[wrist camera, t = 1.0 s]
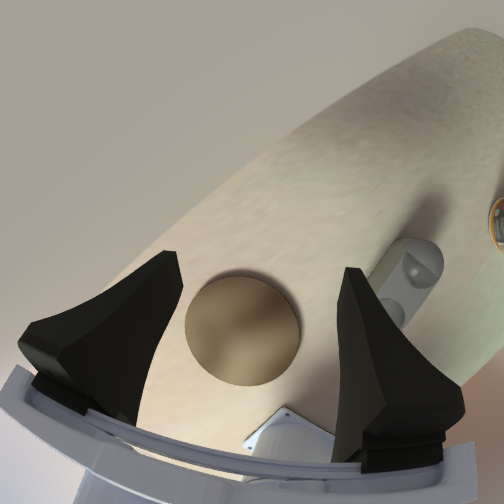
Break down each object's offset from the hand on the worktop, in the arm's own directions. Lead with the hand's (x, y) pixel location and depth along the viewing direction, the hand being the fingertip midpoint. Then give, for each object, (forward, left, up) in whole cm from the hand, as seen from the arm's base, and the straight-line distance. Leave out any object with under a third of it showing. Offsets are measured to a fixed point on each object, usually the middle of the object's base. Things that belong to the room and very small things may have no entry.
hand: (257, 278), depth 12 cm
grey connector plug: (-9, -2, -13) cm, 16 cm away
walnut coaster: (-1, +9, -13) cm, 16 cm away
